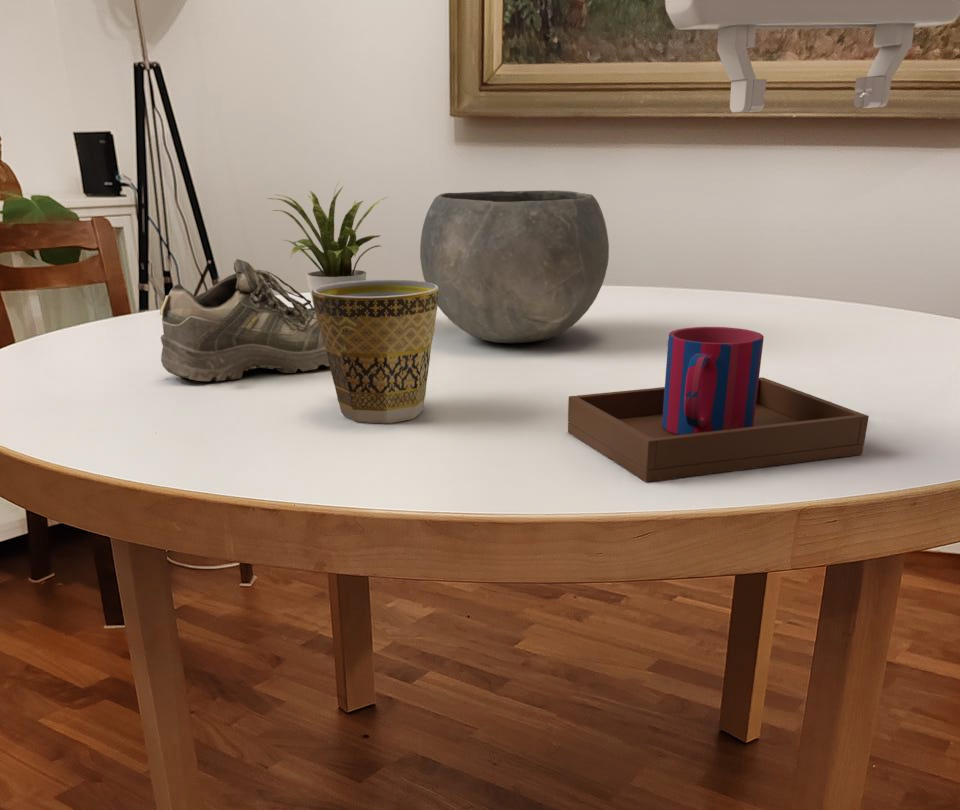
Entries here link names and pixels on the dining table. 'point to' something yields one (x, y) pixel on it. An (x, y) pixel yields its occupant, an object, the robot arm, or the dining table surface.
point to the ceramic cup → (378, 345)
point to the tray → (715, 433)
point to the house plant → (331, 243)
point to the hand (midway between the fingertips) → (809, 110)
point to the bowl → (515, 261)
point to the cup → (711, 379)
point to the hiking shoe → (239, 329)
